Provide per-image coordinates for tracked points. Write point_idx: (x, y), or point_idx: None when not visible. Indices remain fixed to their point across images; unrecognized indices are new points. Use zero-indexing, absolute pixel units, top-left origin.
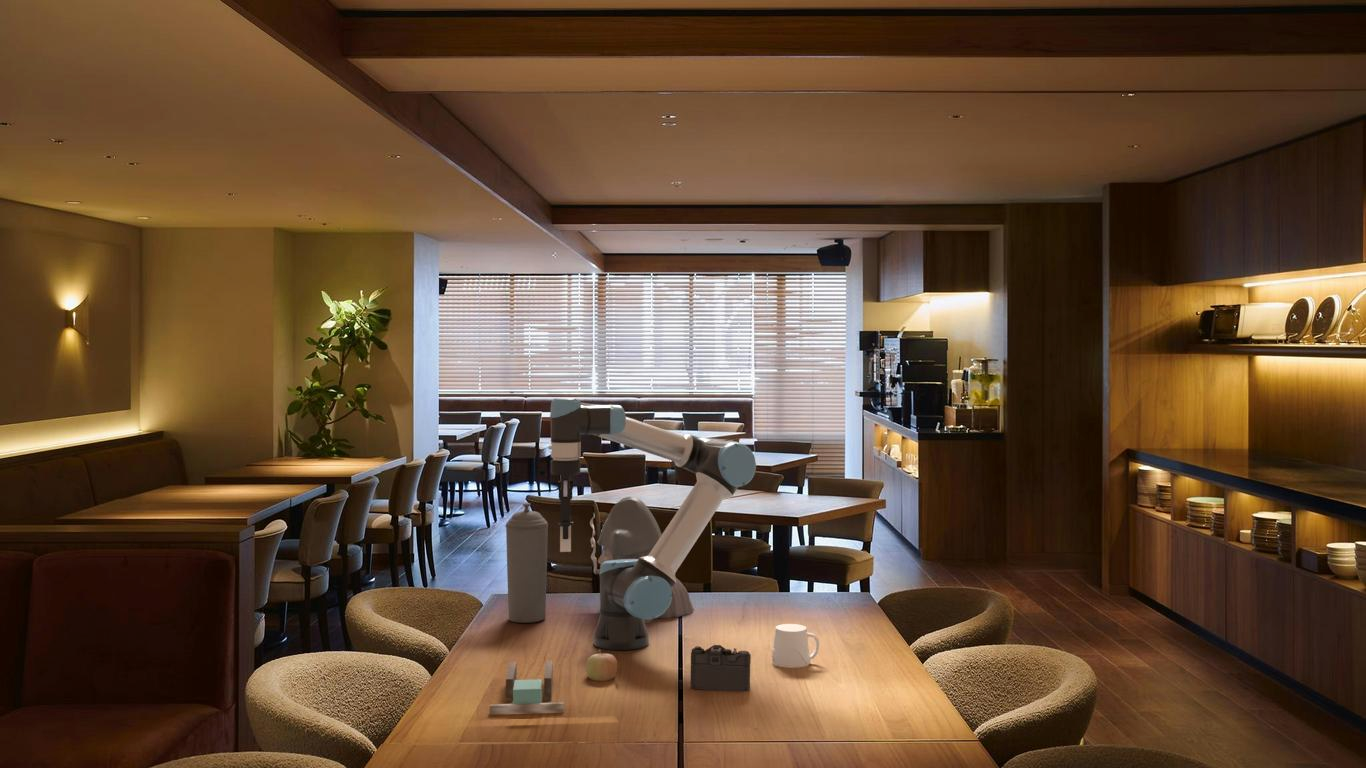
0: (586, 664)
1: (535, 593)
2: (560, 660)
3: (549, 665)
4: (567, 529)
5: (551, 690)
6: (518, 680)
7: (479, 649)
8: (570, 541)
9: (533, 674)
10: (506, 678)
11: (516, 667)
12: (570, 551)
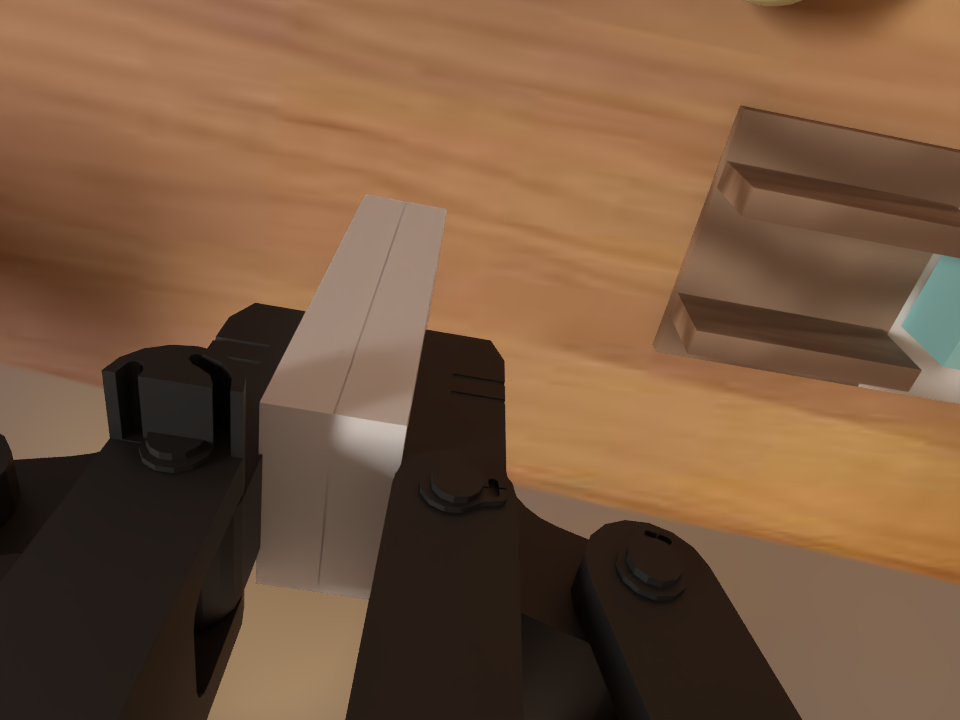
0: (771, 5)
1: None
2: (369, 57)
3: (821, 214)
4: (500, 465)
5: (942, 209)
6: (956, 356)
7: None
8: (434, 274)
9: (546, 206)
10: (898, 388)
11: (693, 319)
12: (444, 214)
